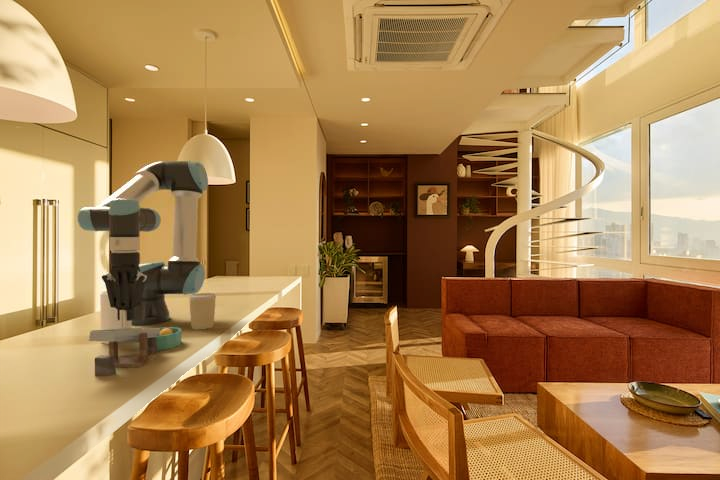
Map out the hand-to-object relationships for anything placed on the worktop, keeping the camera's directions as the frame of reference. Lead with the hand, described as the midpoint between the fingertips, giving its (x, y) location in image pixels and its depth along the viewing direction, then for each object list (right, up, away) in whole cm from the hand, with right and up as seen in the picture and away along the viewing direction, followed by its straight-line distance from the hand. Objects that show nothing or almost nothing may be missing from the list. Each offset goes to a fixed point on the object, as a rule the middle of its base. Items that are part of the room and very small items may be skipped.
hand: (125, 331), depth 110 cm
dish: (+6, -6, +8) cm, 12 cm away
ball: (+7, -4, +10) cm, 13 cm away
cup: (-11, -6, +13) cm, 18 cm away
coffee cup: (+10, -6, +30) cm, 32 cm away
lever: (+3, -1, -8) cm, 9 cm away
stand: (+5, -7, -7) cm, 11 cm away
